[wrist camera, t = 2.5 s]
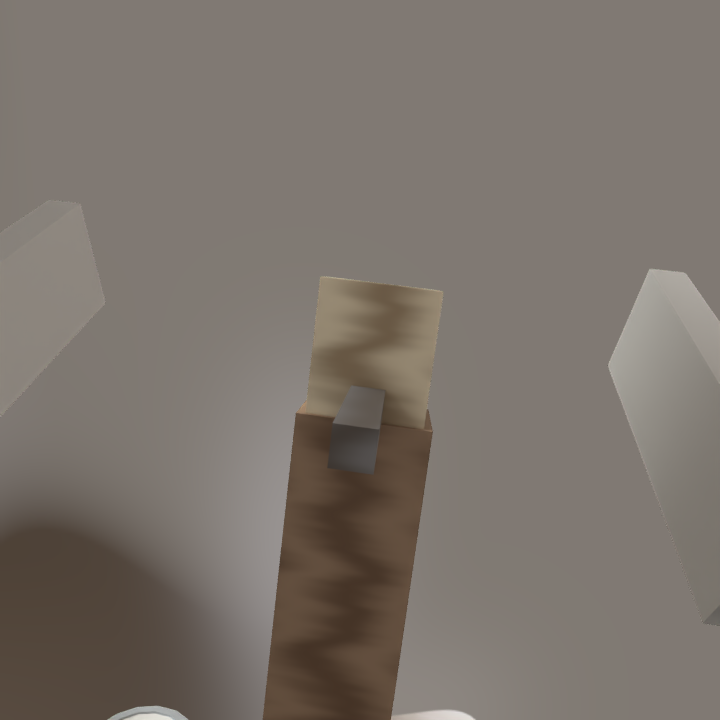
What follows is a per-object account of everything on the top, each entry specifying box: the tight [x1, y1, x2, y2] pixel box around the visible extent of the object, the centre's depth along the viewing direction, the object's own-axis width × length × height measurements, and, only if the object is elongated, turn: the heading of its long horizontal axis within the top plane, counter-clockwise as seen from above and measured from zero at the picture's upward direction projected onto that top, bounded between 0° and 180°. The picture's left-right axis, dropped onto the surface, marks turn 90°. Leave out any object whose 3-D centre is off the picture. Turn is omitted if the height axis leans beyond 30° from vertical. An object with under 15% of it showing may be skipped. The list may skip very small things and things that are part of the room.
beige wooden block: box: [305, 276, 443, 475], centre depth 30 cm, size 7×14×8 cm, turn 175°
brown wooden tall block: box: [263, 400, 433, 720], centre depth 37 cm, size 8×6×29 cm
